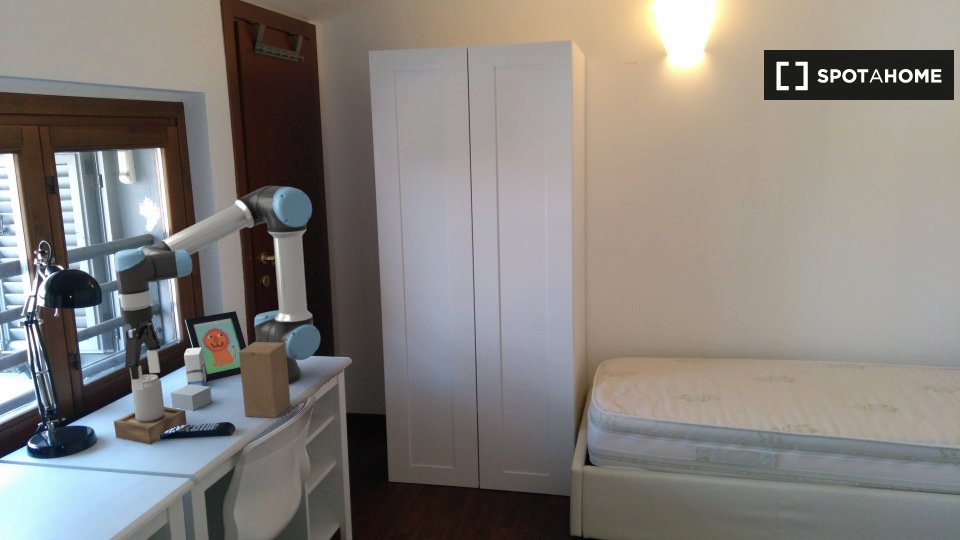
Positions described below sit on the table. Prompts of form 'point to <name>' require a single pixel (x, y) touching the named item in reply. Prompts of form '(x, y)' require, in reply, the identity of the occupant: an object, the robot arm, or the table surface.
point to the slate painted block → (191, 397)
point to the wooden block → (264, 379)
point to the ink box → (195, 366)
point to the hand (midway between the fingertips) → (147, 380)
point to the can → (149, 400)
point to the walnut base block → (148, 426)
